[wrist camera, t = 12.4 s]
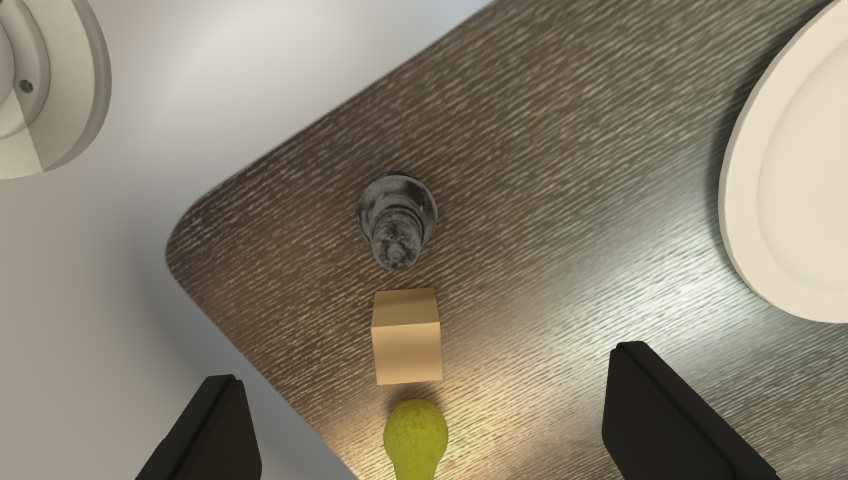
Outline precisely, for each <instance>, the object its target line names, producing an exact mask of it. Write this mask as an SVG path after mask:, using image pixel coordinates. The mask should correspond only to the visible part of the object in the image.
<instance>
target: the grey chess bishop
mask: <svg viewBox="0 0 848 480" xmlns="http://www.w3.org/2000/svg"><path fill="white" fill-rule="evenodd" d="M356 220H357V225H358V228H359V231H360V233H361V235H362V236H363V237H364V239H365V240H366V241H367V242H368V243H369V244H370V245H371V246H372V252H373V255H374V257H375V259H376V261H377V262H378V263H379V264H380V265H381V266H382V267H383V268H385V269H388V270H391V271H402V270H405V269H407V268H409V267H411V266H412V265H413V264H414V263H415V262H416V260H417V258H418V257H419V255H420V251H421V247H422V246H423V245H424V244H425V243H426V242H427V241H428V240H429V239H430V238H431V236H432V235H433V233H434V231H435V229H436V225H437V221H438V208H437V205H436V202H435V199H434V197H433V196H432V194H431V193H430V191H429V189H427V188H426V187H425V186H424V184H423V183H422V182H421V181H420V180H419V179H418V178H417V177H415V176H413V175H411V174H409V173H405V172H400V171H398V172H389V173H386V174H383V175H381V176H380V177H378V178H377V179H375V180H374V181H373V182H372V184H370V185H369V186H368V187H367V188H366V190H365V191H364V192H363V193H362V195H361V197H360V199H359V201H358V204H357V210H356Z"/></svg>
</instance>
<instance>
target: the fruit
mask: <svg viewBox="0 0 848 480" xmlns="http://www.w3.org/2000/svg"><path fill="white" fill-rule="evenodd" d="M383 439H384V447H385V450H386V453H387V455H388V456H389V458H390V459H391V461H392V462H393V465H394V470H395V475H396V479H397V480H433V479H434V474H435V470H436V467H437V465H438V463H439V461H440V460H441V458H442V457H443V455H444V453H445V451H446V448H447V443H448V428H447V424H446V421H445V418H444V416H443V414H442V413H441V411H440V410H439V409H438V407H437V406H435V405H434V404H433V403H431V402H429V401H427V400H423V399H410V400H407V401H405V402H402V403H401V404H399V405H398V406H397V407H396V408H395V409H394V411H393V412H392V414H391V415H390V417H389V419H388V421H387V423H386V426H385V429H384V434H383Z"/></svg>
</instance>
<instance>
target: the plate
mask: <svg viewBox="0 0 848 480" xmlns="http://www.w3.org/2000/svg"><path fill="white" fill-rule="evenodd" d="M718 213H719V223H720V231H721V235H722V238H723V242H724V245H725V249H726V252H727V254H728V256H729V258H730V260H731V262H732V264H733V266H734V268H735V270H736V272H737V273H738V274H739V275H740V277H741V278H742V279H743V280H744V282H745V283H746V284H747V285H748V287H749V288H750V289H751V290H753V291H754V292H755V293H756V294H758V295H759V296H760V297H761V298H763V299H764V300H765V301H767V302H768V303H770V304H772V305H774V306H776V307H778V308H780V309H782V310H784V311H785V312H787V313H789V314H792V315H795V316H798V317H802V318H805V319H808V320H812V321H820V322H829V323H848V0H835V1H833V2H832V3H830V4H829V5H827V6H826V7H825V8H824V9H823V10H821V11H820V12H819V13H818V14H817V15H816V16H815V17H814V18H812V19H811V20H810V21H809V22H808V23H807V24H806V25H805V26H804V27H802V28H801V29H800V30H799V31H798V32H797V33H796V34H795V35H794V36H793V38H792V39H791V40H790V41H789V42H788V43H787V44H786V46H785V47H784V48H783V49H782V50H781V51H780V52H779V53H778V55H777V56H776V57H775V58H774V59H773V60H772V62H771V63H770V65H769V66H768V68H767V69H766V71H765V72H764V74H763V75H762V76H761V78H760V79H759V81H758V82H757V84H756V85H755V87H754V88H753V90H752V92H751V93H750V95H749V97H748V99H747V101H746V103H745V105H744V107H743V109H742V111H741V113H740V114H739V116H738V118H737V121H736V123H735V126H734V129H733V131H732V134H731V137H730V139H729V142H728V145H727V148H726V151H725V156H724V160H723V165H722V169H721V174H720V179H719V194H718Z"/></svg>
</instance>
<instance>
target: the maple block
mask: <svg viewBox="0 0 848 480" xmlns="http://www.w3.org/2000/svg"><path fill="white" fill-rule="evenodd" d="M371 334H372V343H373V352H374V361H375V369H376V378H377V385H387V384H399V383H411V382H423V381H434V380H443V369H442V351H441V332H440V320H439V314H438V308H437V303H436V297H435V292H434V287H429V288H416V289H403V290H390V291H377V292H375V299H374V307H373V315H372V323H371Z"/></svg>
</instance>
